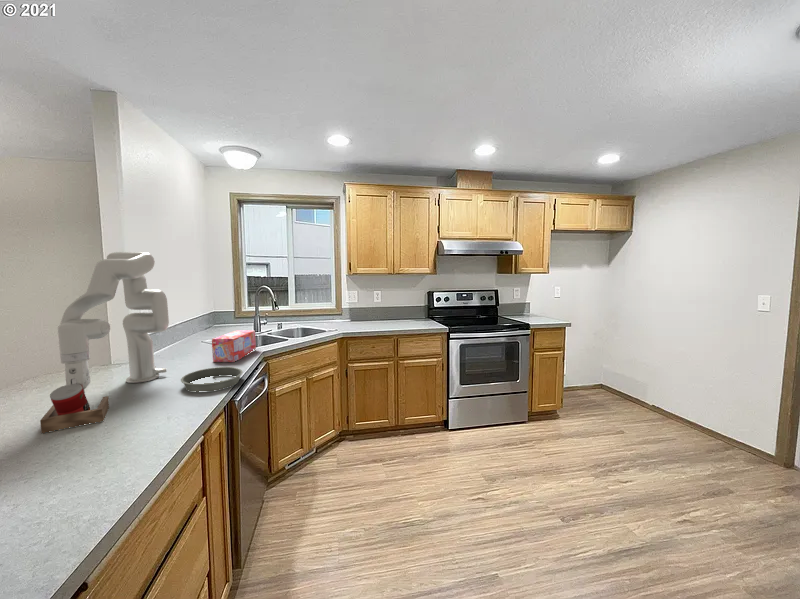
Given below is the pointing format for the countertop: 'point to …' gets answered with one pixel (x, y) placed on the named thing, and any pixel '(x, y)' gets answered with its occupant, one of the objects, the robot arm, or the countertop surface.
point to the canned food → (69, 399)
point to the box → (233, 345)
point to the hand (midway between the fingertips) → (79, 406)
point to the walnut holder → (73, 417)
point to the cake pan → (208, 373)
